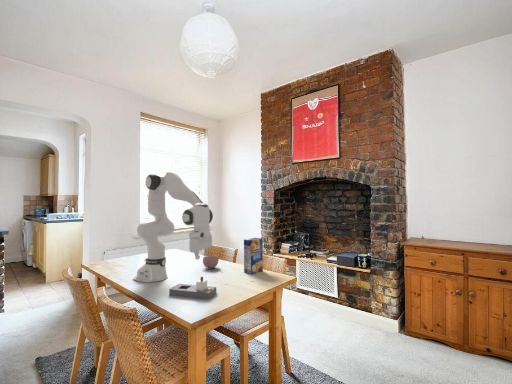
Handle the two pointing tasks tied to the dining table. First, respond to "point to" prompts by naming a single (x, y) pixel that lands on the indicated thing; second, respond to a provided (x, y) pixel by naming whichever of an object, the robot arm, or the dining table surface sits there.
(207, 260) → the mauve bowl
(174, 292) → the power strip
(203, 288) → the plug
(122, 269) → the dining table surface
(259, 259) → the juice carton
